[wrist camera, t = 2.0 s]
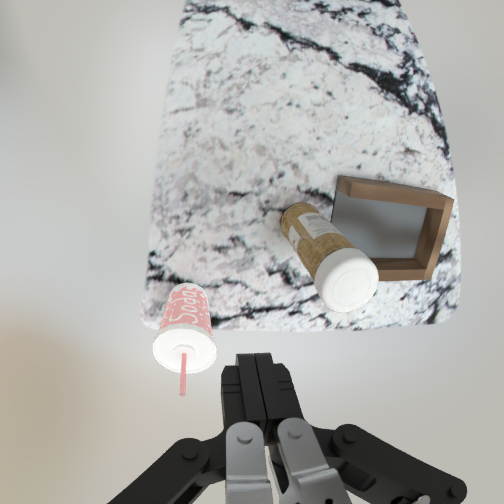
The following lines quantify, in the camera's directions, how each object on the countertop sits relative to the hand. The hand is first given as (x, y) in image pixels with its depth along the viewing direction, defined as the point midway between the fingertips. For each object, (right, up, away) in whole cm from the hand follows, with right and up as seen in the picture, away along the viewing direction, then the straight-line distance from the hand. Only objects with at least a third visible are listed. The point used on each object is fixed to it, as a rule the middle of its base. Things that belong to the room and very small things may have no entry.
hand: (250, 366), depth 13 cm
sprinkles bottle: (+5, +8, +19) cm, 22 cm away
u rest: (+15, +8, +21) cm, 27 cm away
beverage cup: (-7, 0, +22) cm, 23 cm away
